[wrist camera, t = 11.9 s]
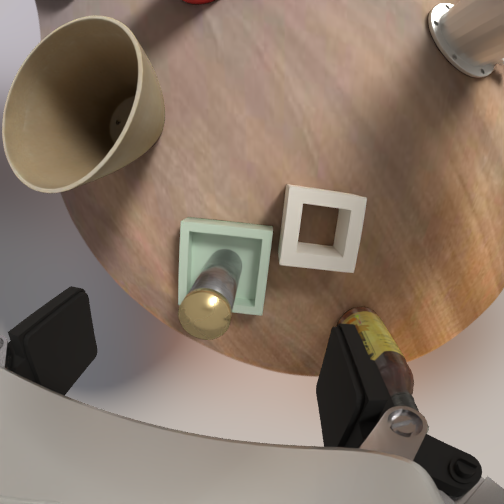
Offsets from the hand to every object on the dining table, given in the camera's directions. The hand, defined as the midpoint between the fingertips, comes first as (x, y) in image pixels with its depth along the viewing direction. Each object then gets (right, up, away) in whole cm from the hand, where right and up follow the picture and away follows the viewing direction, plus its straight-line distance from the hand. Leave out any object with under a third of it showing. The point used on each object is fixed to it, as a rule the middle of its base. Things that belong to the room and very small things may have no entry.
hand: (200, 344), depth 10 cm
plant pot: (-12, +19, +22) cm, 31 cm away
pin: (-1, +2, +25) cm, 25 cm away
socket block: (+9, +7, +24) cm, 27 cm away
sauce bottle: (+16, -7, +27) cm, 32 cm away
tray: (-1, +2, +26) cm, 26 cm away
